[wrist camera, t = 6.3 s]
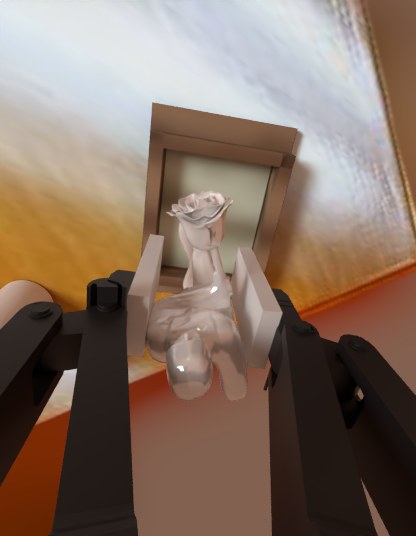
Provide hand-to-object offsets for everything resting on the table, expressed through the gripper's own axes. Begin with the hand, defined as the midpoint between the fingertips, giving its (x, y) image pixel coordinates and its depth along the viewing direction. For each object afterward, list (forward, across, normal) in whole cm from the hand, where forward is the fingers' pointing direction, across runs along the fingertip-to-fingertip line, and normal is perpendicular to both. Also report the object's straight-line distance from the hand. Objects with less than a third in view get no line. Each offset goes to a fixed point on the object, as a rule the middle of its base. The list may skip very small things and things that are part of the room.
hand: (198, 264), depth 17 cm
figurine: (+3, 0, 0) cm, 3 cm away
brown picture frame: (+18, +2, -2) cm, 18 cm away
